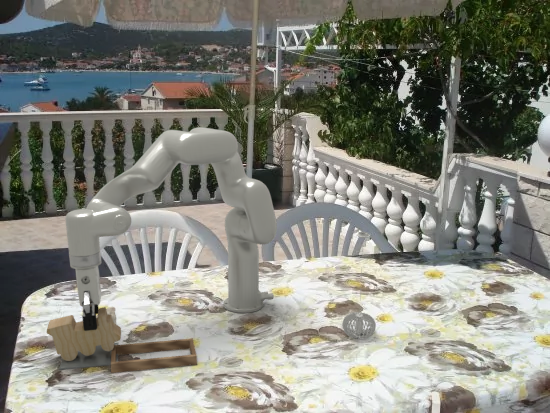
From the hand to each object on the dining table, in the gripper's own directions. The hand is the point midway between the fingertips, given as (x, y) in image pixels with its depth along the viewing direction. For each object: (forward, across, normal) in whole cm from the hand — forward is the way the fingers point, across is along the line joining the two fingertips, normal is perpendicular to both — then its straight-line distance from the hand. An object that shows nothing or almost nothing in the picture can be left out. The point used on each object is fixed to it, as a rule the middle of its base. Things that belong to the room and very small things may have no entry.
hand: (91, 321), depth 160 cm
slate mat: (+9, -1, +1) cm, 9 cm away
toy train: (+8, -1, +1) cm, 8 cm away
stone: (+10, +14, -2) cm, 18 cm away
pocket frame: (+10, -6, -15) cm, 19 cm away
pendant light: (+12, -3, -72) cm, 73 cm away
